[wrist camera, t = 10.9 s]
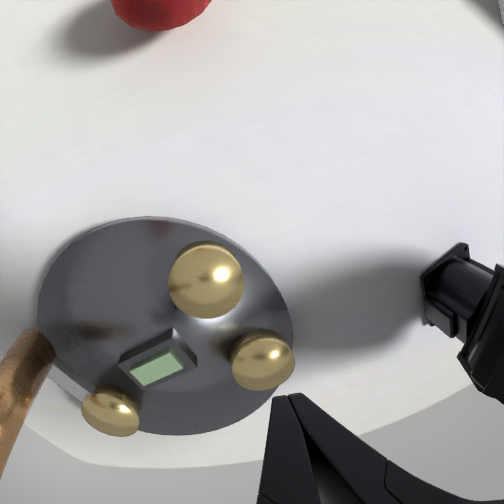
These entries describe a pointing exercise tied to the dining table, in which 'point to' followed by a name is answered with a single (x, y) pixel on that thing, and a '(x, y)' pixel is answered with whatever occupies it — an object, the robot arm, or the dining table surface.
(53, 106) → the dining table surface
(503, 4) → the light bulb box
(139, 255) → the tribrach plate
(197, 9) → the onion
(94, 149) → the dining table surface
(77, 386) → the knob lever
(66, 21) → the dining table surface
